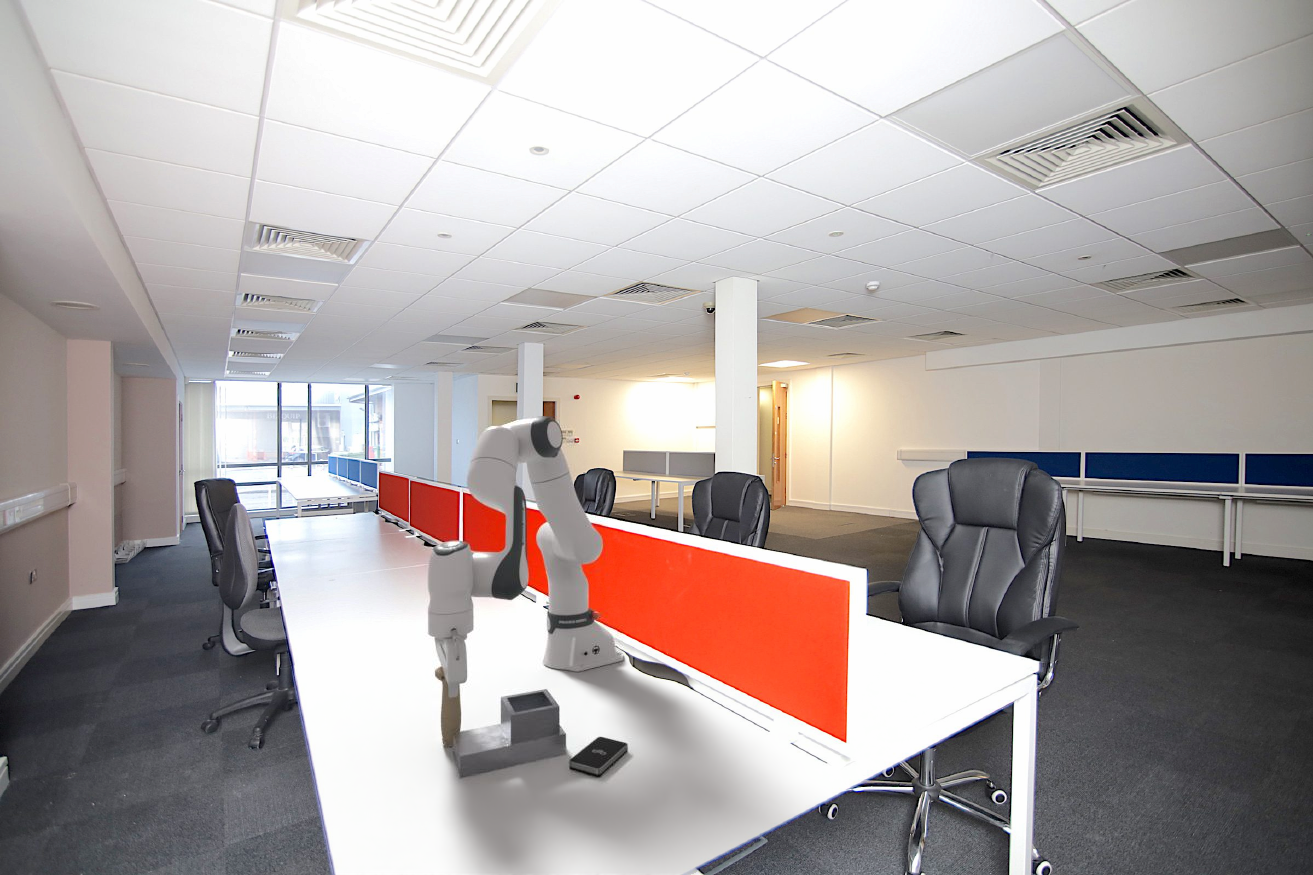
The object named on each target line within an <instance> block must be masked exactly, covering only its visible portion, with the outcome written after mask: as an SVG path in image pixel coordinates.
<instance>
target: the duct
mask: <svg viewBox="0 0 1313 875" xmlns="http://www.w3.org/2000/svg"><path fill="white" fill-rule="evenodd" d="M560 717H561V716H560V705H559V704H558V702H557V701H556V700H555V698H554V697H553V696H552V694H551V693H550V692H549V690H548V688H545V689H538V690H533V691H527V692H521V693H517V694H515V693H514V694H510V695H504V696H500V723H497V724H491V725H488V726H483V727H477V728H471V729H466V730H462V731H461V730H460V732H456V733H453V746H452V754H453V758H454V762H455V765H456V770H457V772H458V776H459V779H463V778H467V777H472V776H476V775H480V774H481V775H482V774H485V773H486V774H487V773H489V772H490V773H491V772H494V771H499V770H503V769H507V768H511V767H516V766H521V765H525V764H530V763H533V762H539V761H541V760H547V759H551V758H555V757H560V756H565V755H567V733H566V732H565V730H564V729H563V727H562V726H561V724H560Z"/></svg>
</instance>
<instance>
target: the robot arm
mask: <svg viewBox="0 0 1313 875" xmlns="http://www.w3.org/2000/svg"><path fill="white" fill-rule="evenodd" d="M563 439H564V438H563V432H562V428H561V426H560V424H559V423H558V422H557V420H555V419H554V418H553V417H552V416H536V417H529V418H522V419H518V420H517V419H516V420H515V421H511V422H508V423H506V424H502V425H492V426H489V427H487V428H485V430H483V432H482V433H481V434H480V436H479V438H478V440H477V442H476V445H475V447H474V450H473V451H472V456H471V459H470V462H469V465H468V469H467V470H468V471H467V475H466V487H467V489H468V491H469V493H470V494H471V496H472V497H473V498H474V499H475V500H476V501H478V502H479V503H481V504H483V505H484V506H486V507H488V508H491V509H493V510H496V511H498V512H501V513H502V514H504V515H505V547H504V549H503V550H501V551H499V552H498V551H497V552H496V551H493V552H492V551H474V550H471V546H470V544H469V543H468V542H466V541H463V540H449V541H444V542H440V543H439V544H437V545H435V546H434V547H433V548H432V549H431V551H430V556H429V562H428V568H427V569H428V570H427V592H428V595H429V603H428V606H427V634H428V635H429V636H430V637H433V638H434V643H435V649H436V651H435V652H436V654H437V658H438V660H439V662H440V665H441V666H442V669H443V672H444V675H445V678H446V681H447V684H448V695H449V697H450V698H452V697H457V696H458V686H459V684H460V685H461V684H465V683H467V680H468V657H467V656H468V655H467V654H468V653H467V646H466V641H467V639H468V634H470V633H471V632H473V631H474V626H475V625H474V624H475V623H474V616H475V615H474V602H473V599H472V598H487V599H488V598H490V599H491V598H492V599H498V600H506V601H513V600H514V599H516V598H517V597H519V596H520V595H521V594H522V593H523V592H524V591H525V590H526V588H527V586H528V584H529V564H528V563H529V562H528V550H527V549H528V548H527V547H528V542H527V541H528V536H527V534H528V517H527V516H528V514H527V513H528V510H527V500H526V494H525V492H524V490H523V488H522V487H520V486H519V485H518V483H517V479H516V478H517V471H518V465H519V464H523V463H525V464H526V469H527V475H528V478H529V481H530V482H529V483H530V484H531V489H532V492H533V496H534V498H535V502H536V506H537V509H538V510H539V512H540V513H541V514H542V515H543V517H544V518H545V520H546V522H545V523H543V524H542V525H540V527H539V529H538V530H537V532H536V538H535V539H536V544H537V546H538V548H539V550H540V551H541V555H542V558H543V564H544V568H545V573H546V577H547V583H548V610H547V614H546V630H547V639H546V647H545V652H544V656H543V659H542V663H543V664H544V666H546V667H548V668H551V669H556V670H567V671H572V672H575V673H576V672H578V673H579V672H583V671H586V670H591V669H594V668H599V667H603V666H606V665H610V664H614V663H618V662H622V661H623V660H624V652H623V651H622V650H621V649H620V648H618V647H617V646H616V643H615V639H614V638H615V637H614V636H613V634H612V633H611V632H610V631H609V630H607V629H606V628H605V627H603V625H601V624H600V623H598V622H597V621H598V620H600V618H601V614H600V612H598V611H596V610H594V609H591V608H590V607H589V582H588V578H587V577H586V575H585V573H584V571H583V567H582V565H586V564H587V565H588V564H592V563H594V562H595V561H596V560H598V558H599V557H600V556H601V554H602V551H603V546H604V543H603V541H604V540H603V538H602V535H601V534H600V533H599V531H598V530H597V529H596V528H595V527H594V526H593V524H592V523H591V521H590V520H589V518H588V516H587V514H586V512H585V510H584V508H583V507H582V504H581V502H580V500H579V498H578V494H577V492H576V489H575V486H574V483H573V479H572V476H571V472H570V468H569V465H568V462H567V460H566V457H565V455H564V452H563V450H562V445H563ZM595 620H596V621H595ZM441 666H440V667H441Z"/></svg>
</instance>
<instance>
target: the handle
mask: <svg viewBox="0 0 1313 875" xmlns="http://www.w3.org/2000/svg"><path fill="white" fill-rule="evenodd" d="M434 676H435V679H437V680H439V681H440V682H441V683H442V685H441V686H442V689H441V708H440V731H441V737H442V738H441V740H442V744H443V745H444V747H447V748H449V747H453V733H456V732H461V728H462V727H461V726H462V706H461V705H462V704H461V689H460V688H461V686H460V685H461V684H459V686H458V696H457V697H452V698H450V697H449V695H448V684H447V681H446V678H445V675H444V672H443V669H442V666H438V667H437V668H436V669H434Z"/></svg>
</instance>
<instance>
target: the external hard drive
mask: <svg viewBox="0 0 1313 875" xmlns="http://www.w3.org/2000/svg"><path fill="white" fill-rule="evenodd" d="M628 749H629V744H628V742H624V741H622V740H621V741H620V740H616V739H612V738H608V737H605V736H598V737H596V738H595V739H594V740H592V741H591V742H590V743H589V744H587V745H586V746H584V748H582V749H581V750H580V751H579V752H577V753H576V754H575V755H574V756H572V757H571V758H570V759H569V762H568V767H569V770H570V771H572V772H576V773H579V774H584V775H586V776H590V777H593V778H596V779H597V778H602V776H603V775H604V774H605V773H606V772H608V770H610V769H611V768H612V767H613V766H615V764H616V763H618V762H619V761H620V760H621V759H622V758H623V757H624V756H625V755H627V753H628V751H629V750H628Z"/></svg>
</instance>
